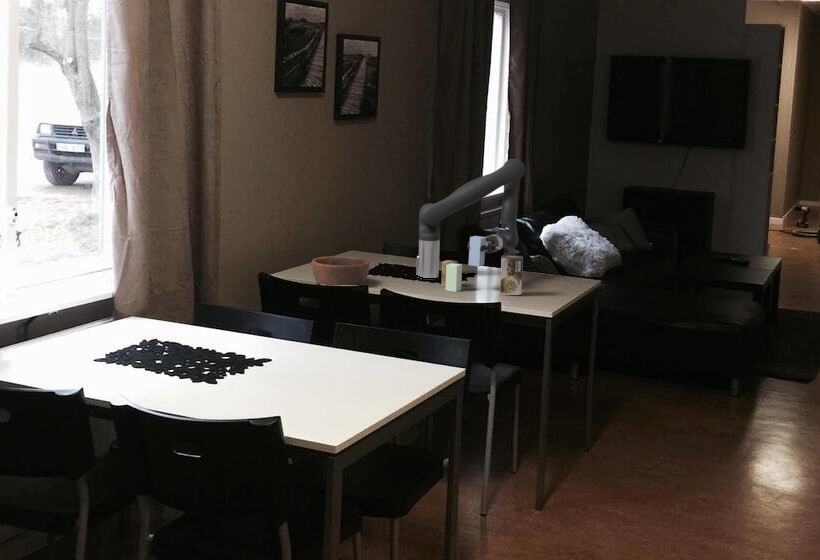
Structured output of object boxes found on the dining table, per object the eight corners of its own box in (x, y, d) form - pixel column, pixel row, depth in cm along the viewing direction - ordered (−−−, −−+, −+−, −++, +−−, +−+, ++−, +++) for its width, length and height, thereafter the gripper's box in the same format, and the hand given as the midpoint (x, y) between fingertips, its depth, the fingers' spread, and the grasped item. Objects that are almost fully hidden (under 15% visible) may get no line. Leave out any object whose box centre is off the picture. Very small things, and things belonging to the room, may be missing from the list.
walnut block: (441, 286, 473) (442, 261, 471) (446, 285, 478) (447, 260, 476) (451, 288, 471) (452, 262, 469) (456, 286, 475) (457, 261, 473)
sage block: (445, 290, 466) (446, 264, 464) (450, 288, 470) (451, 263, 468) (455, 291, 463) (456, 266, 461) (461, 289, 468) (462, 264, 466)
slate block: (468, 265, 465) (470, 237, 463) (473, 263, 470) (475, 235, 467) (479, 266, 463) (480, 238, 461) (484, 265, 467) (485, 237, 465)
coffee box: (521, 293, 463) (523, 255, 460) (521, 296, 457) (523, 258, 454) (500, 292, 464) (501, 254, 461) (499, 295, 458) (501, 257, 455)
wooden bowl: (379, 282, 480) (379, 259, 478) (352, 292, 457) (352, 267, 455) (329, 276, 490) (329, 254, 488) (300, 285, 467) (300, 262, 466)
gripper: (476, 233, 480) (459, 237, 465) (507, 237, 473) (490, 241, 458) (475, 250, 481) (458, 254, 466) (505, 254, 475) (489, 259, 460)
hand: (474, 248), depth 463 cm, fingers closed on slate block, 5 cm apart
